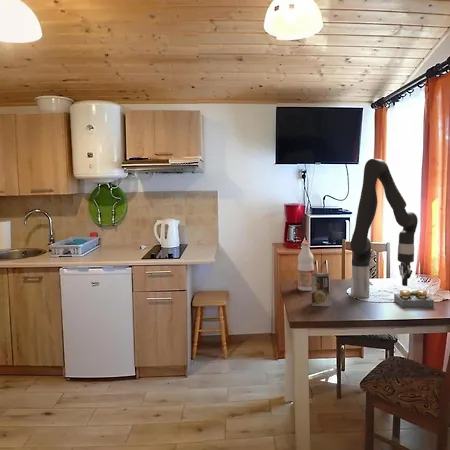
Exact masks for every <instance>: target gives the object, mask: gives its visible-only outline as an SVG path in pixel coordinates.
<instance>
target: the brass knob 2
mask: <svg viewBox="0 0 450 450" xmlns="http://www.w3.org/2000/svg"><path fill="white" fill-rule="evenodd" d="M415 291H416V294H417V295H418V298H425V296H426V295H427V296H428V291H427V290H423V289H416V290H415Z"/></svg>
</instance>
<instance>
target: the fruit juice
mask: <svg viewBox="0 0 450 450" xmlns="http://www.w3.org/2000/svg"><path fill="white" fill-rule="evenodd" d="M300 245H301V250H300V252H299V253H298V255H297V261H298V264H297V288H298V290H299V291H304V292H306V291H307V292H308V291H311V292H312V282H311V276H312V274H313V273H315V266H314V265H315V264H314V254H313V253H312V252H311V249H310V245H311V243H310V242H305V241H303V242H301V244H300Z"/></svg>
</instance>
